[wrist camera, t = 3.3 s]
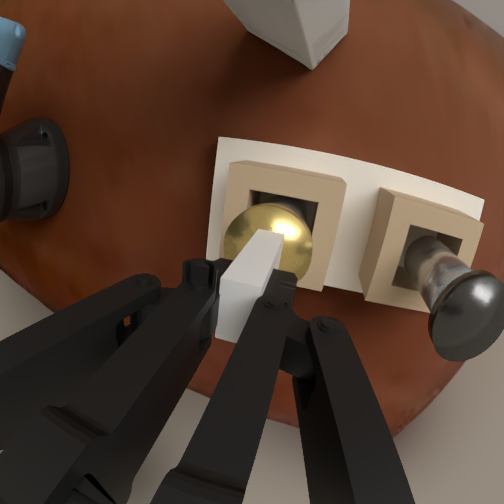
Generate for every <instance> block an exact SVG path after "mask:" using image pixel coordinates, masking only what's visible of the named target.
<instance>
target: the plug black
mask: <svg viewBox="0 0 504 504" xmlns="http://www.w3.org/2000/svg"><path fill="white" fill-rule="evenodd" d="M404 266H405V270H406V272H407V273H408V275H409V277H410V278H411V280H412V281H413V283H414V285H415V286H416V288H417V290H418V292H419V293H420V295H421V297H422V298H423V300H424V302H425V304H426V305H427V307H428V309H429V311H430V316H429V321H428V331H429V335H430V338H431V340H432V343H433V345H434V347H435V349H436V351H437V353H438V354H439V355H440V356H441V357H442V358H444V359H446V360H449V361H457V362H458V361H465V360H468V359H471V358H473V357H476V356H478V355H479V354H481V353H482V352H484V351H485V350H487V349H488V348H489V347H490V346H491V345H492V344H493V343H494V342H495V341H496V339H497V338H498V337H499V336H500V334H501V333H502V331H503V329H504V284H503V283H502V282H501V281H500V280H499V279H498V278H496V277H495V276H494V275H493V274H492V273H490V272H487V271H483V270H475V271H472V270H471V269H470V268H469V267H468V266H467V265H466V264H465V263H464V262H463V261H462V260H461V259H460V258H459V257H457V256H456V255H455V254H454V253H453V252H452V251H451V250H450V249H449V248H448V247H446V246H445V245H444V244H443V243H442V242H441V241H440V240H438V239H437V238H435V237H433V236H422V237H419V238H417V239H416V240H414V241H413V242H412V243H411V244H410V245H409V247H408V248H407V250H406V253H405V256H404Z"/></svg>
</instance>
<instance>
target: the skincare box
mask: <svg viewBox="0 0 504 504" xmlns="http://www.w3.org/2000/svg"><path fill="white" fill-rule="evenodd" d="M223 2H224V3H225V4H226V5H227V6H228V7H229V8H230V10H231V11H232V12H233V13H234V14H235V15H236V17H237V18H238V19H239V20H240V21H241V23H242V24H243V25H244V26H245V28H246V29H247V31H249V32H250V33H252V34H254V35H256V36H257V37H259V38H261V39H263V40H264V41H266V42H268V43H269V44H271V45H273V46H274V47H276V48H278V49H279V50H281V51H283V52H284V53H286V54H287V55H289V56H291V57H292V58H294V59H296V60H298V61H299V62H301V63H302V64H304V65H305V66H306V67H308V68H309V69H310V70H313V69H314V68H315V67H316V66H317V65H318V64H319V63H320V62H321V61H322V59H323V58H324V57H325V56H326V55H327V54H328V53H329V52H330V51H331V50H332V49H333V48H334V46H335V45H336V44H337V43H338V42H339V41H340V40H341V39H342V38H343V37H344V36H345V35H346V34H347V30H348V19H349V6H350V0H223Z"/></svg>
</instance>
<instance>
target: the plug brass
mask: <svg viewBox="0 0 504 504" xmlns="http://www.w3.org/2000/svg"><path fill="white" fill-rule="evenodd" d="M306 219H307V212H306V208H305V206H304V204H303V203H302V201H301V200H300V199H299V198H294V197H289V196H284V195H276V196H274V197H272V198H271V199H270V200H269V201H268V202H267V203H263V204H258V205H254V206H252V207H249V208H248V209H246V210H244V211H243V212H242V213H241V214H239V215H238V216H237V217H236V218H235V219H234V220H233V221H232V222H231V224H230V225H229V227H228V229H227V231H226V233H225V237H224V242H223V250H224V256H225V259H229V260H235V258H236V257H237V256H238V254H239V253H240V252H241V251H242V249H243V248H244V247H245V245H246V244H247V243H248V242H249V240H250V239H251V238H252V236H253V235H254V234H255V232H256V231H257V230H258V229H263V230H268V231H273V232H277V233H282V234H285V236H284V241H283V247H282V252H281V258H280V263H279V268H278V270H283V271H287V272H292V273H295V275H296V277H297V278H298V280H297V282H299V281H300V280H301V279H302V278H303V277H304V275H305V274H306V272H307V271H308V269H309V266H310V263H311V260H312V251H313V242H312V236H311V233H310V230H309V228H308V226H307V225H306Z"/></svg>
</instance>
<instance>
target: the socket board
mask: <svg viewBox="0 0 504 504" xmlns="http://www.w3.org/2000/svg"><path fill="white" fill-rule="evenodd" d="M276 195H284V196H289V197H294V198H299V199H300V200H301V201H302V203H303V204H304V206H305V208H306V212H307V219H306V225H307V226H308V228H309V230H310V233H311V236H312V242H313V251H312V260H311V263H310V266H309V269H308V271H307V272H306V274H305V275H304V277H303V278H302V279H301V280H300V281H299V282H297V286H298V287H302V288H307V289H312V290H316V291H321V292H322V288H323V285H326V286H331V287H336V288H340V289H345V290H350V291H355V292H360V293H363V295H364V299H365V301H370V302H375V303H381V304H386V305H391V306H396V307H401V308H407V309H412V310H417V311H423V312H428V313H430V311H429V309H428V307H427V305H426V304H425V302H424V300H423V298H422V297H421V295H420V293H419V292H418V290H417V288H416V286H415V285H414V283H413V281H412V280H411V278H410V277H409V275H408V273H407V272H406V270H405V266H404V256H405V253H406V250H407V248H408V247H409V245H410V244H411V243H412V242H413V241H414V240H416V239H417V238H419V237H422V236H433V237H435V238H437V239H438V240H440V241H441V242H442V243H443V244H444V245H445V246H446V247H448V248H449V249H450V250H451V251H452V252H453V253H454V254H455V255H456V256H457V257H459V258H460V259H461V260H462V261H463V262H464V263H465V264H466V265H467V266H468V267H469V268H470V266H471V264H472V261H473V258H474V255H475V252H476V249H477V246H478V243H479V240H480V236H481V233H482V230H483V226H484V224H483V223H482V222H480V221H479V220H480V216H481V212H482V208H483V204H484V200H483V199H481V198H478V197H476V196H473V195H471V194H468V193H465V192H463V191H460V190H457V189H454V188H451V187H449V186H446V185H443V184H440V183H437V182H434V181H431V180H428V179H425V178H421V177H418V176H415V175H412V174H408V173H405V172H401V171H398V170H394V169H391V168H387V167H383V166H380V165H376V164H372V163H368V162H364V161H360V160H356V159H351V158H347V157H342V156H338V155H333V154H329V153H324V152H319V151H314V150H308V149H303V148H297V147H292V146H286V145H279V144H273V143H266V142H259V141H252V140H244V139H236V138H227V137H219V139H218V147H217V155H216V163H215V171H214V180H213V189H212V199H211V209H210V219H209V230H208V241H207V252H206V259H207V260H212V261H214V260H217V259H219V258H225V256H224V250H223V242H224V237H225V233H226V231H227V229H228V227H229V225H230V224H231V222H232V221H233V220H234V219H235V218H236V217H237V216H238V215H239V214H241V213H242V212H243V211H244V210H246V209H248V208H249V207H252V206H254V205H258V204H263V203H267V202H268V201H269V200H270V199H271V198H272V197H274V196H276Z"/></svg>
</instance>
